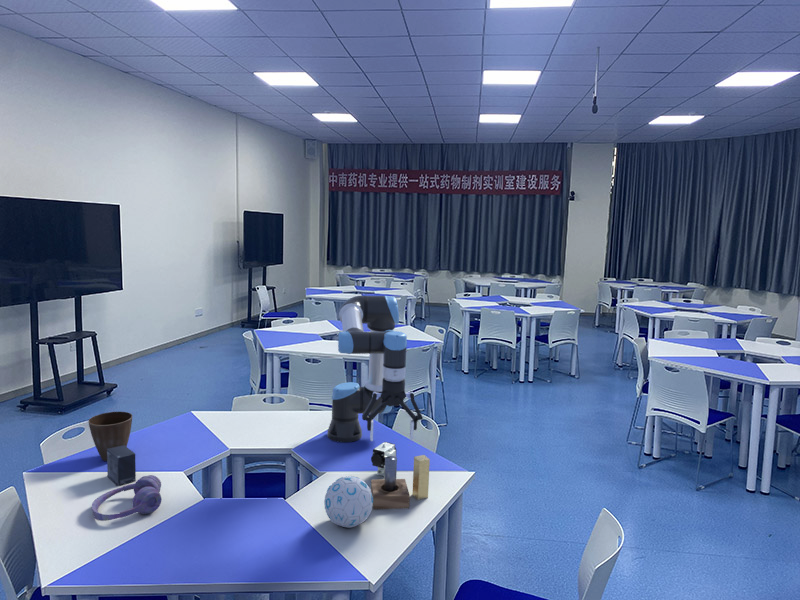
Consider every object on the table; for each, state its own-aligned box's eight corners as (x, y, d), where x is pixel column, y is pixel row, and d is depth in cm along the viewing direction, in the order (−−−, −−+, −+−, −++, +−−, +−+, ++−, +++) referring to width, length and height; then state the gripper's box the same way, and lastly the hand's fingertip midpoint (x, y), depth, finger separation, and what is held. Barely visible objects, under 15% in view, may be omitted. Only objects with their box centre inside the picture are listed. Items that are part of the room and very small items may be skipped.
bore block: (370, 491, 193) (371, 479, 192) (404, 490, 194) (404, 478, 194) (373, 509, 181) (373, 496, 180) (409, 508, 182) (409, 495, 182)
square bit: (412, 494, 192) (414, 456, 190) (422, 492, 194) (424, 454, 192) (417, 499, 188) (419, 461, 186) (428, 497, 190) (429, 459, 188)
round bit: (383, 494, 189) (384, 455, 187) (394, 493, 190) (396, 455, 187) (384, 500, 185) (385, 461, 183) (396, 499, 186) (397, 460, 184)
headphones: (163, 488, 188) (98, 507, 181) (158, 467, 187) (92, 484, 179) (163, 515, 172) (92, 537, 164) (158, 491, 170) (86, 512, 162)
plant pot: (95, 469, 201) (93, 428, 199) (86, 455, 212) (84, 416, 210) (138, 459, 211) (137, 419, 209) (127, 446, 222) (126, 408, 220)
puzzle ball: (328, 510, 179) (329, 466, 177) (374, 512, 179) (375, 469, 177) (320, 536, 164) (320, 489, 162) (370, 538, 164) (371, 491, 162)
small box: (137, 481, 194) (136, 452, 193) (118, 486, 189) (117, 458, 188) (125, 471, 201) (124, 443, 200) (106, 476, 197) (105, 448, 195)
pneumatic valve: (369, 478, 202) (370, 447, 201) (385, 467, 213) (386, 437, 211) (382, 482, 200) (384, 451, 198) (398, 470, 210) (399, 440, 208)
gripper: (356, 381, 176) (355, 444, 180) (432, 381, 180) (429, 443, 183) (355, 375, 184) (354, 435, 187) (428, 375, 187) (426, 434, 190)
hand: (391, 439), depth 185 cm, fingers open, 13 cm apart
